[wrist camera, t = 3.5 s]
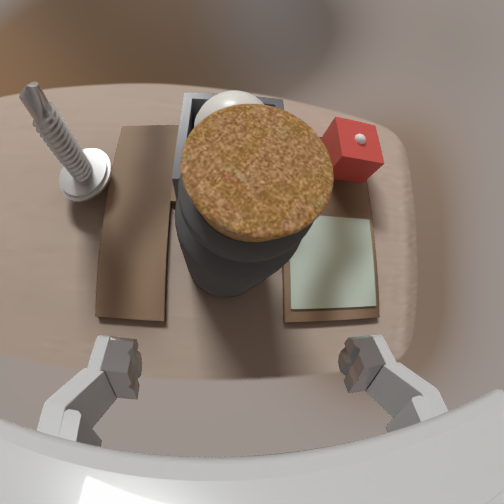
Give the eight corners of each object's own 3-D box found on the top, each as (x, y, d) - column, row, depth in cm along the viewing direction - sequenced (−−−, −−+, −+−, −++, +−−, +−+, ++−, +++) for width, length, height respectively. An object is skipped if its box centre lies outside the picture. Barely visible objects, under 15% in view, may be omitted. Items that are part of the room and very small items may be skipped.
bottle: (277, 268, 23) (382, 191, 9) (216, 313, 22) (239, 303, 7) (233, 210, 24) (274, 71, 9) (172, 250, 22) (126, 140, 8)
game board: (97, 316, 20) (94, 316, 20) (123, 129, 24) (121, 125, 23) (376, 317, 24) (380, 317, 23) (357, 146, 28) (360, 143, 27)
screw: (117, 155, 23) (116, 205, 22) (70, 165, 23) (66, 214, 22) (72, 46, 11) (53, 105, 10) (6, 71, 10) (-19, 133, 9)
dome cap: (192, 182, 22) (189, 135, 16) (197, 125, 24) (198, 73, 17) (263, 185, 23) (283, 141, 17) (262, 129, 24) (278, 79, 18)
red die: (324, 178, 25) (344, 152, 21) (319, 141, 26) (337, 113, 22) (362, 183, 26) (387, 160, 22) (356, 147, 27) (377, 122, 23)
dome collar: (176, 201, 23) (172, 178, 19) (185, 121, 25) (184, 92, 21) (276, 205, 24) (289, 184, 20) (272, 126, 26) (283, 99, 22)
